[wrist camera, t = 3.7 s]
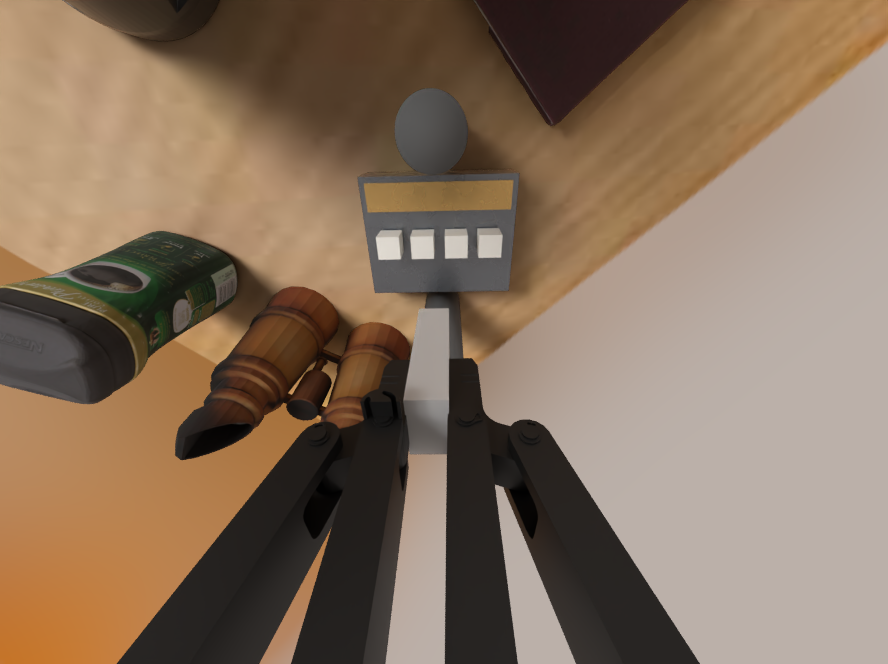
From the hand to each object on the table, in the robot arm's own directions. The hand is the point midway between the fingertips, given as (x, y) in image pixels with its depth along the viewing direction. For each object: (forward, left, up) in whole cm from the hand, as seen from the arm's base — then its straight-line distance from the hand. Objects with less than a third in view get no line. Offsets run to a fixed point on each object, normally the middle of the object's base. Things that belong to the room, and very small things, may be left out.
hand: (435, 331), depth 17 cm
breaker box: (0, 0, -20) cm, 20 cm away
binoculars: (+13, -13, -21) cm, 28 cm away
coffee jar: (+4, -28, -21) cm, 35 cm away
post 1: (-9, 0, -20) cm, 22 cm away
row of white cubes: (0, 0, -16) cm, 16 cm away
